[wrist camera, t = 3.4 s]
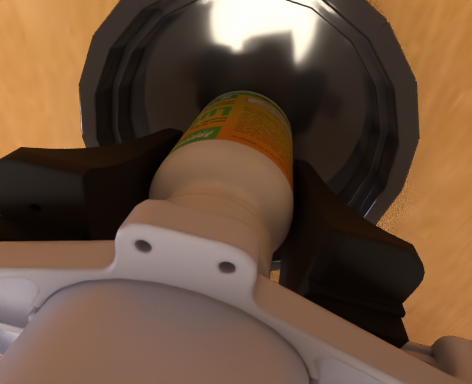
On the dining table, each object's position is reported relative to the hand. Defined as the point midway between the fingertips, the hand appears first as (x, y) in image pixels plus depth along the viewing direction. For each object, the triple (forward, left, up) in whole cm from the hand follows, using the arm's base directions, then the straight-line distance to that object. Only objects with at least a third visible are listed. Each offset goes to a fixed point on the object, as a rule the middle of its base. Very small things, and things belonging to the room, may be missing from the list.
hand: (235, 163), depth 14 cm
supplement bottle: (0, 0, -3) cm, 3 cm away
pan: (0, 0, -3) cm, 3 cm away
